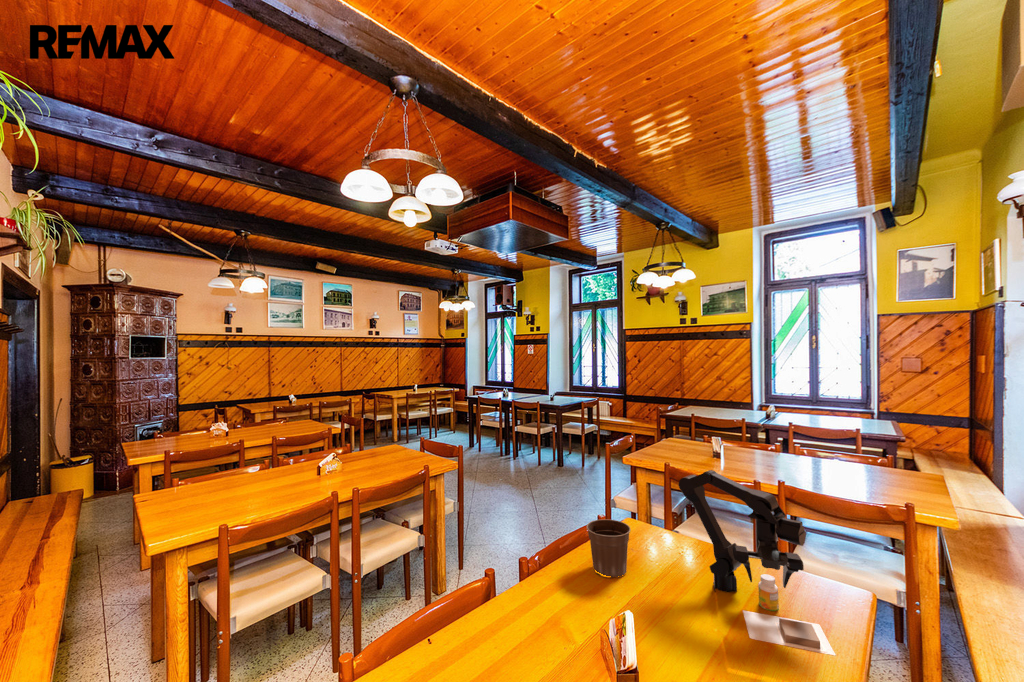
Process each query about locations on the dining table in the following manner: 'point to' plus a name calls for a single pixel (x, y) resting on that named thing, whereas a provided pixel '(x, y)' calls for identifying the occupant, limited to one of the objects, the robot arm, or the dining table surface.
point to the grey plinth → (799, 633)
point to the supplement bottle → (768, 593)
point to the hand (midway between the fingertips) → (767, 584)
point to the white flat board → (771, 632)
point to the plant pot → (609, 546)
